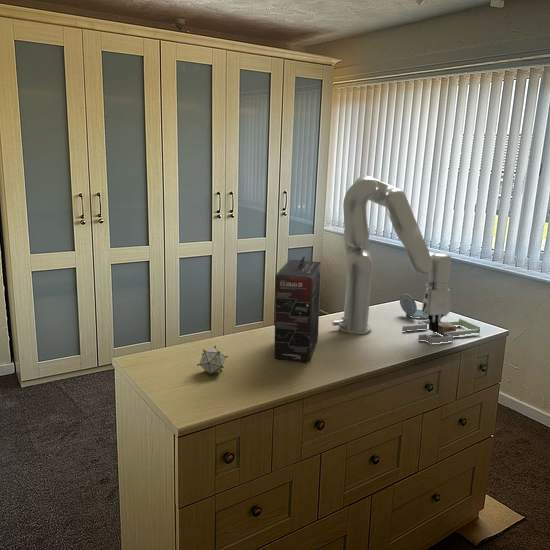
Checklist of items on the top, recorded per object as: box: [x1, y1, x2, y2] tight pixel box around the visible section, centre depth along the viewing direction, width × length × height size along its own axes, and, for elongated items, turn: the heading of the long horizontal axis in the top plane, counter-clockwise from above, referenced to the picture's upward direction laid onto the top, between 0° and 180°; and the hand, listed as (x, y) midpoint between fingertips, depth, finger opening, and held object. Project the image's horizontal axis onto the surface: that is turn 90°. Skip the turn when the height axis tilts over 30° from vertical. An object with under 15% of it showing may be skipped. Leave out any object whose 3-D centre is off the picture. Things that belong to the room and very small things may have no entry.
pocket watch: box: [399, 293, 425, 318], centre depth 224 cm, size 10×11×15 cm
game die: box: [196, 345, 229, 377], centre depth 158 cm, size 9×8×10 cm
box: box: [401, 318, 481, 344], centre depth 202 cm, size 28×20×4 cm
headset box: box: [273, 255, 322, 364], centre depth 177 cm, size 24×13×33 cm, turn 168°
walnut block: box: [437, 321, 457, 335], centre depth 202 cm, size 6×6×4 cm
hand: (433, 330), depth 201 cm, fingers closed
